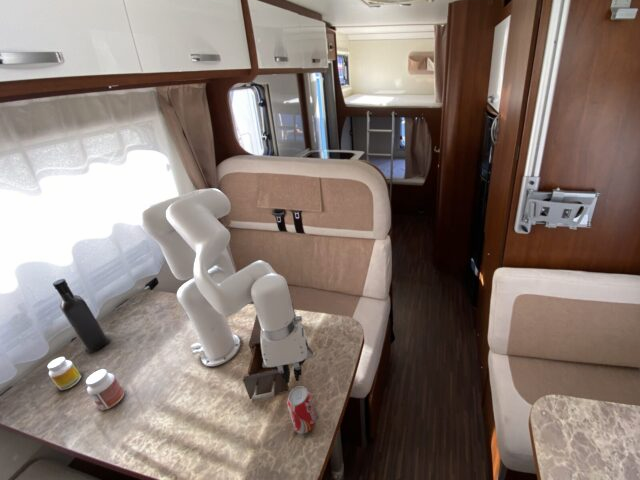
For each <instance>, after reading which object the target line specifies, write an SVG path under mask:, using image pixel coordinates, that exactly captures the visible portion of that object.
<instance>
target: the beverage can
mask: <svg viewBox="0 0 640 480" xmlns="http://www.w3.org/2000/svg"><path fill="white" fill-rule="evenodd" d="M286 406H287V409H288V413H289V416H290V419H291V422H292V427H293V429H294V431H295V432H296V433H298V434H301V435H302V434H306V433H308V432H310V431H311V430H312V429H313V428H314V427H315V424H316V422H317V415H316V411H315V406H314V402H313V398H312V393H311V391H310V390H309V389H308V388H307V387H305V386H304V385H297V386H296V387H294V388H292V390H290V392H289V394H288V397H287V400H286Z"/></svg>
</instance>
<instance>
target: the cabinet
mask: <svg viewBox="0 0 640 480" xmlns="http://www.w3.org/2000/svg"><path fill="white" fill-rule="evenodd" d="M292 306H293V311H295V307H294V303H293V302H292ZM260 334H261V326H260V323H259V319H258V316H257V314H255V318H254V323H253V327H252V330H251V333H250V338H249V342H248V347H249V350H250V353H251V355H252V351H253V347H254V345H260V344H261V341H260Z"/></svg>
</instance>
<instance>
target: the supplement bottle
mask: <svg viewBox="0 0 640 480" xmlns="http://www.w3.org/2000/svg"><path fill="white" fill-rule="evenodd" d="M47 369H48V370H49V371H48V376H49V377H50V379H51V380H52V382H53V383H54V384H55V386H56V387H57V388H58V389H59V390H60V391H64V390H67V389H70V388H72V387H73V386H75V385H76V384H77V383H78V382H80V380H81V378H82V375H81V373H80V372H79V370H78V369H77V367H76V366H75V365H74V363H73V362H72V361H71V360H67V358H65V356H60V357H57V358H55V359H53V360H51V361H50V362H49V363H48V364H47Z"/></svg>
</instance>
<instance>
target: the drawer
mask: <svg viewBox="0 0 640 480" xmlns="http://www.w3.org/2000/svg"><path fill="white" fill-rule="evenodd" d="M263 361H264V360H263V356H262V350H261V344H260V345H254V347H253V351H252V354H251V356H250V360H249V363H248V368H247V375H243V378H242V382H243V385H244V387H245V391H246V393H247V396H248V399H249V400H251V403H257V402H262V401H267V400H271V399H274V398H275V397H276V395H277V394H282V393H285V392H289V391H290V385H289V383H288V384H286V382H285V379H283V378H282V374H281V373H279V372H278V370H275V369H273V368H271V367H270V368H268V367H263V366H262V365H263ZM288 366H289V367H290V364H288Z"/></svg>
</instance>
